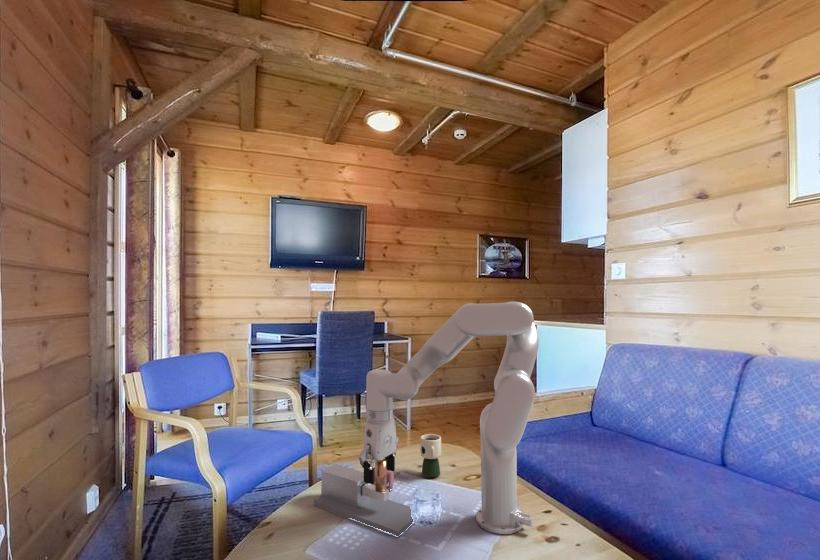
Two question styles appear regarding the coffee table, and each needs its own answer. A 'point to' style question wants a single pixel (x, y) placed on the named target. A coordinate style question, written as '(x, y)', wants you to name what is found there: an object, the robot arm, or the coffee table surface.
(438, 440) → the character mug
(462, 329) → the robot arm
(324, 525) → the coffee table surface
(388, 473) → the video game controller
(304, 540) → the coffee table surface
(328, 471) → the block
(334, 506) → the base board
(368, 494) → the shaft
